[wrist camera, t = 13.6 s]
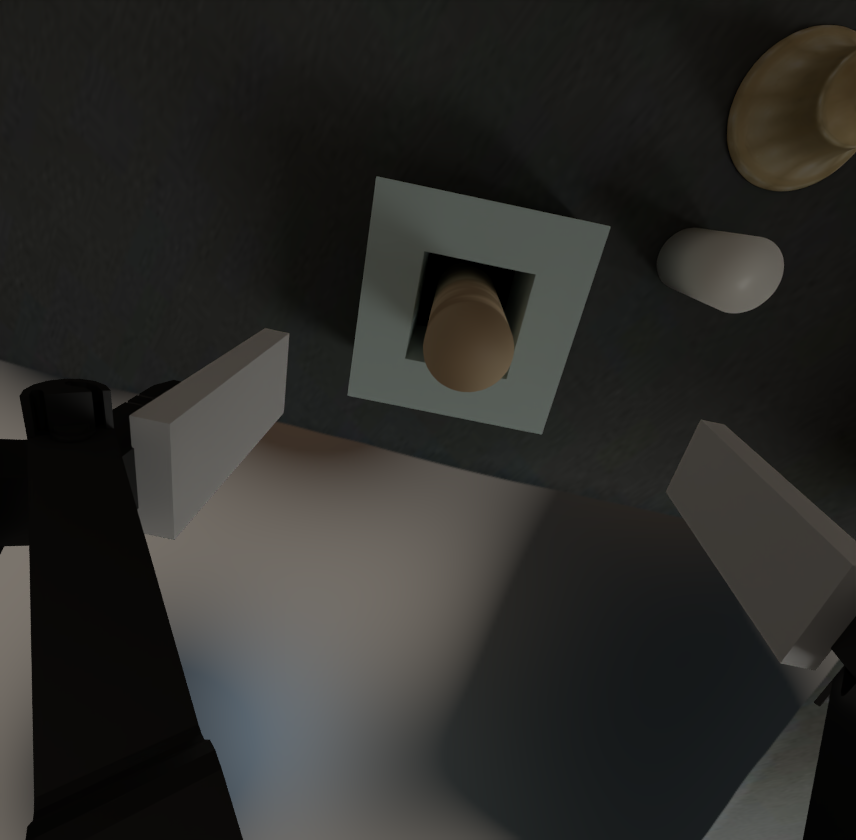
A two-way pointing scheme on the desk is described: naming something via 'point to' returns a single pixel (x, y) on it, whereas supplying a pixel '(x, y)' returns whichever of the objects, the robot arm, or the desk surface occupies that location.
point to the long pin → (467, 331)
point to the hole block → (525, 310)
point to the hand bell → (796, 110)
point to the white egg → (721, 268)
